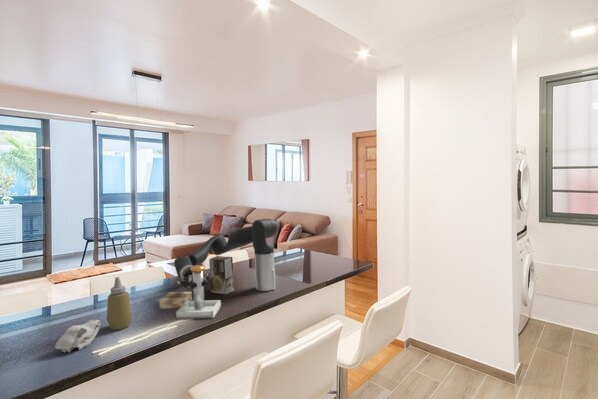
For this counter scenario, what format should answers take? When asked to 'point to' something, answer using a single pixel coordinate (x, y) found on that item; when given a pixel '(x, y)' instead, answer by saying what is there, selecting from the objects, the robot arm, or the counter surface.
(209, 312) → the tray
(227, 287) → the coffee box
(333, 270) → the counter surface
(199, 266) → the pin
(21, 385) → the counter surface
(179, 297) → the socket block
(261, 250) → the robot arm
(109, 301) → the squeeze bottle
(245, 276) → the counter surface
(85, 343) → the skull
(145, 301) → the counter surface
